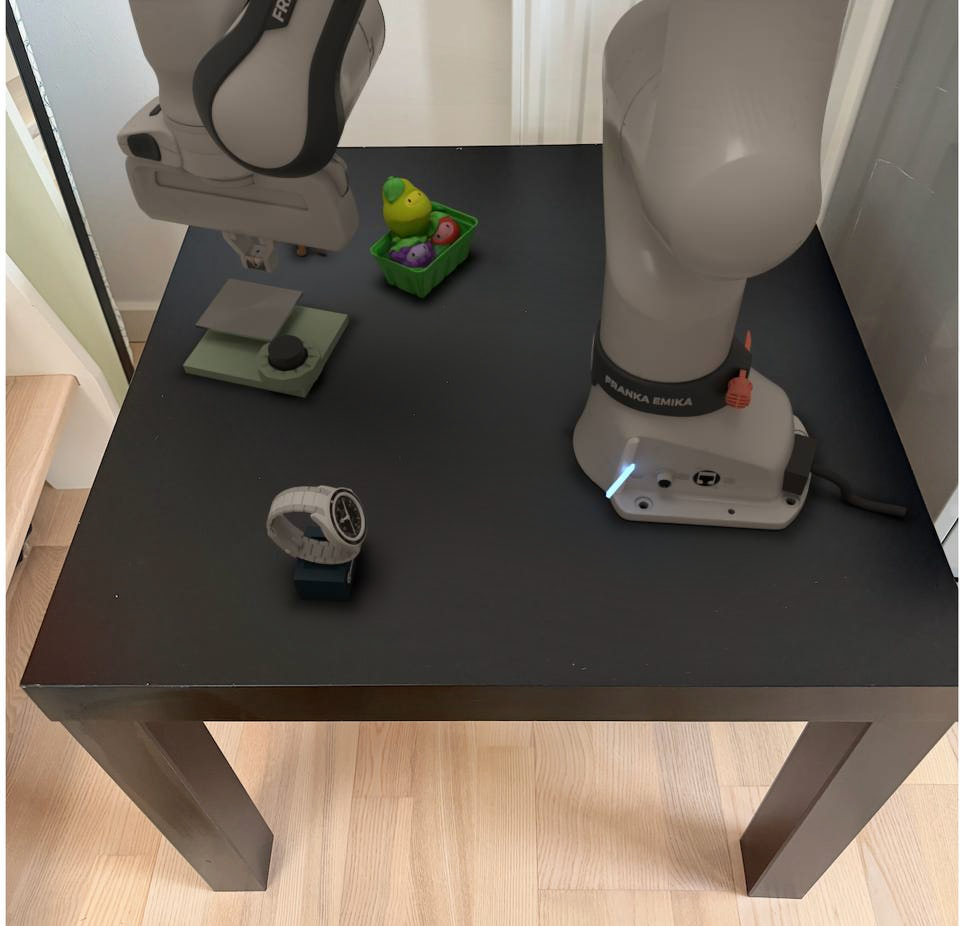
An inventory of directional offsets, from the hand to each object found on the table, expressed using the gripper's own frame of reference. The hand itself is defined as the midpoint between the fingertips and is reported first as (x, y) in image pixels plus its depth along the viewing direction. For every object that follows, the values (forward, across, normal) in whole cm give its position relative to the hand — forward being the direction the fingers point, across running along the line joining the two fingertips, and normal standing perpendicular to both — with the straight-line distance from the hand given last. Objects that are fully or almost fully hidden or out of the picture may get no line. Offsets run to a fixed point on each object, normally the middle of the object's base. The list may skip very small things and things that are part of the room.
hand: (261, 266), depth 85 cm
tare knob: (+12, 0, 0) cm, 12 cm away
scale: (+15, +4, -4) cm, 16 cm away
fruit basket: (+15, -8, -20) cm, 26 cm away
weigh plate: (+12, +7, -6) cm, 15 cm away
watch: (+15, -14, +22) cm, 29 cm away
